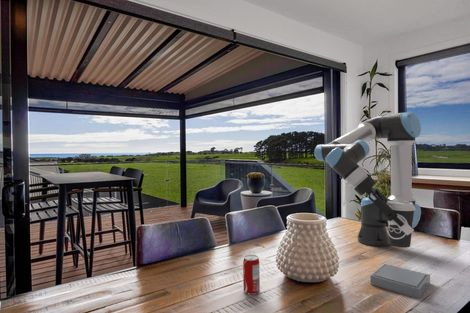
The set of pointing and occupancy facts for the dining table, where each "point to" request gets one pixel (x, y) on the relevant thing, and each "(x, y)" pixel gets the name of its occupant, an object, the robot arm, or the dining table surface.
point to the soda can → (251, 274)
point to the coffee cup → (394, 231)
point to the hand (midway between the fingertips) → (410, 229)
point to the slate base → (401, 280)
